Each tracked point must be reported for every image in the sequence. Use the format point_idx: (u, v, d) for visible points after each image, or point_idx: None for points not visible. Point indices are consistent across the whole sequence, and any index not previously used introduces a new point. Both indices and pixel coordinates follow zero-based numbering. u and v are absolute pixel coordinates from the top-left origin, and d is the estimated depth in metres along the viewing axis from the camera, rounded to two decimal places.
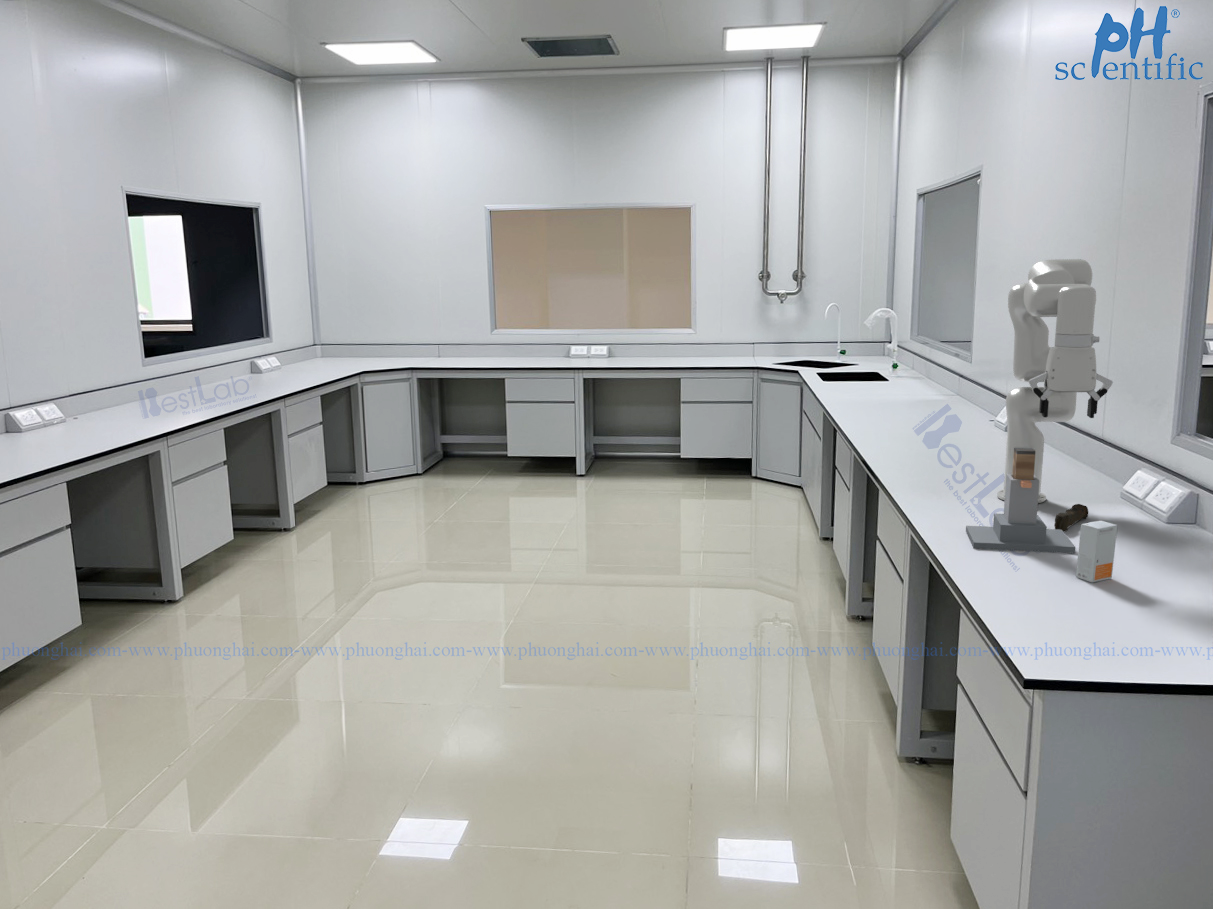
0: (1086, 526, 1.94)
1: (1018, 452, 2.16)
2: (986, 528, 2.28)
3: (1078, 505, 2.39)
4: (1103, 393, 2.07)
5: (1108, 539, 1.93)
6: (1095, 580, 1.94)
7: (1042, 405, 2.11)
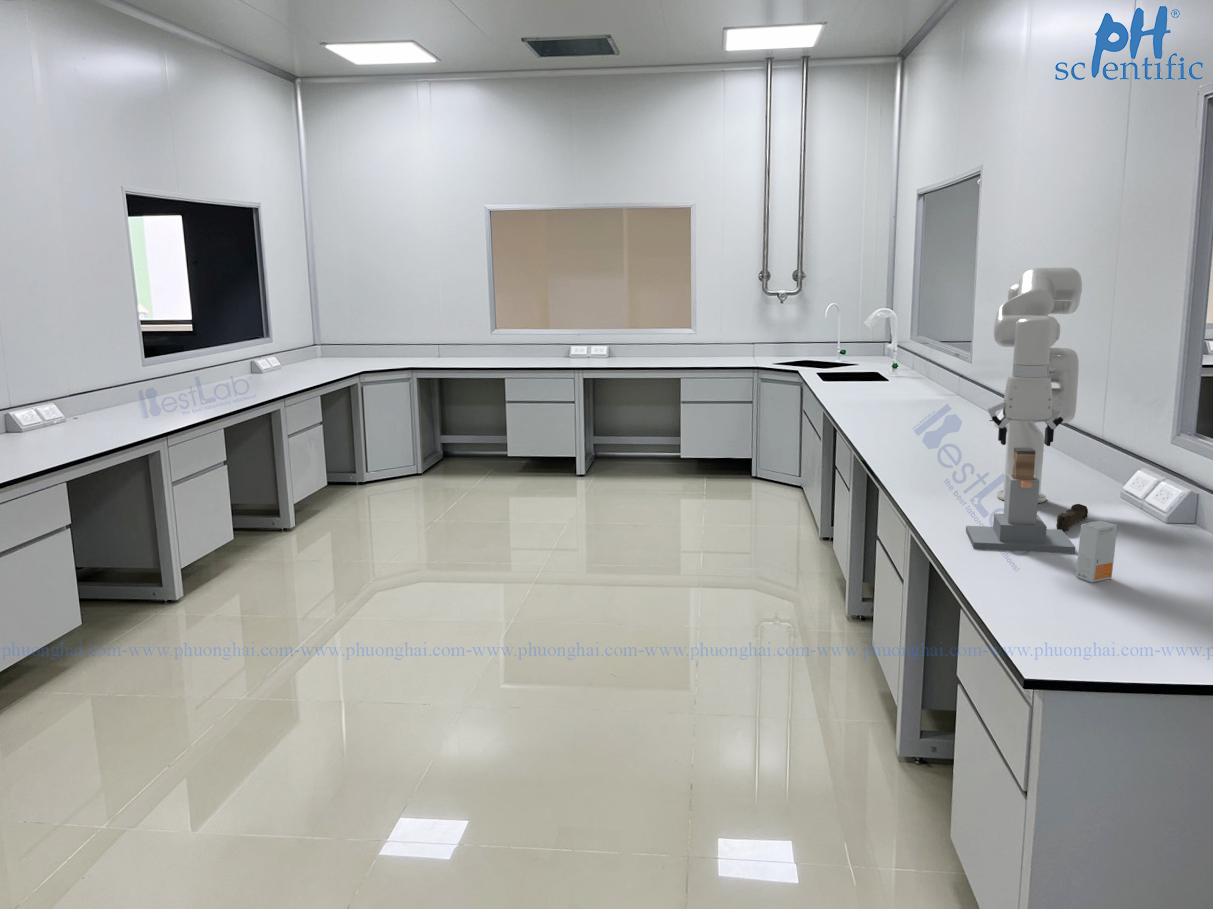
0: (1086, 526, 1.94)
1: (1018, 452, 2.16)
2: (986, 528, 2.28)
3: (1078, 505, 2.39)
4: (1059, 422, 2.13)
5: (1108, 539, 1.93)
6: (1095, 580, 1.94)
7: (1000, 433, 2.17)
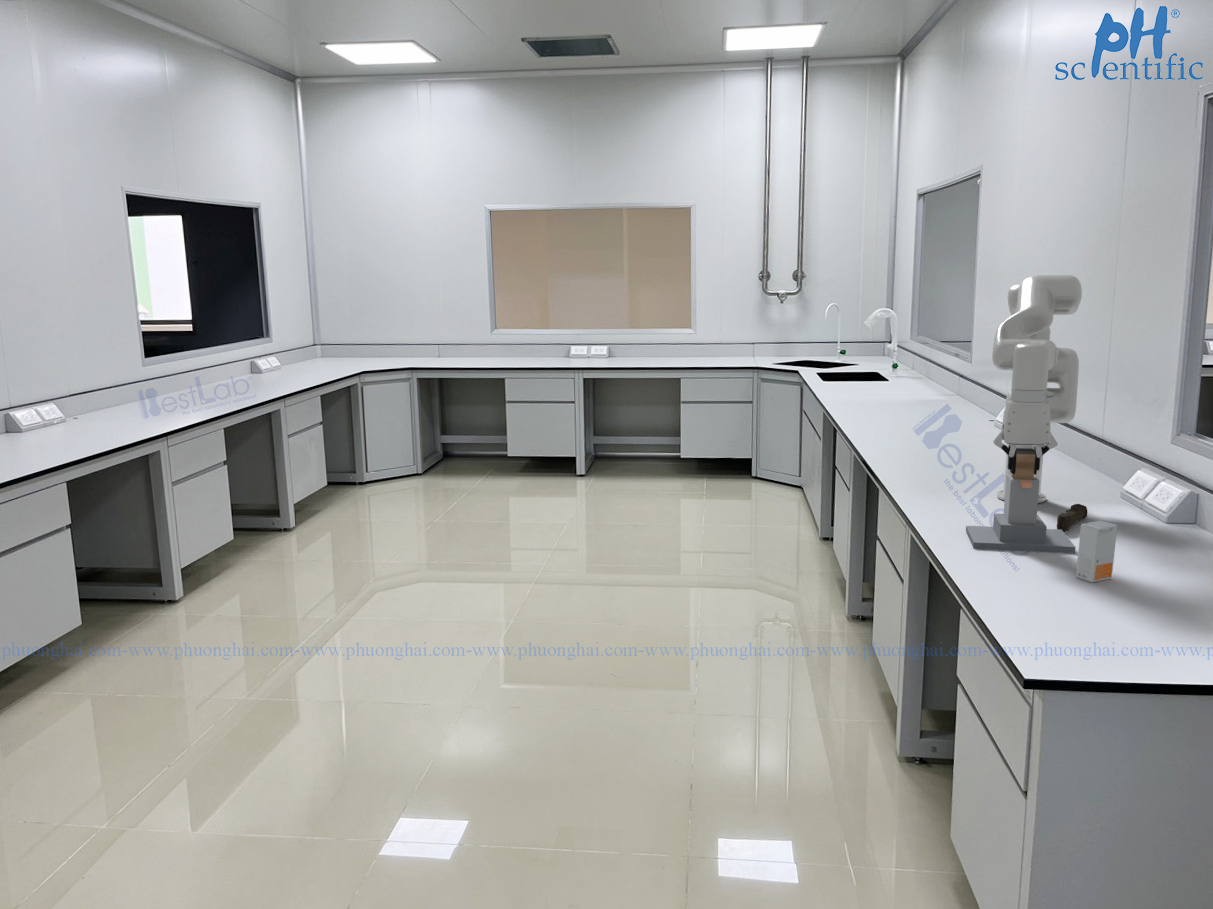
0: (1086, 526, 1.94)
1: (1018, 452, 2.16)
2: (986, 528, 2.28)
3: (1077, 505, 2.39)
4: (1045, 451, 2.15)
5: (1108, 539, 1.93)
6: (1095, 580, 1.94)
7: (1010, 462, 2.18)
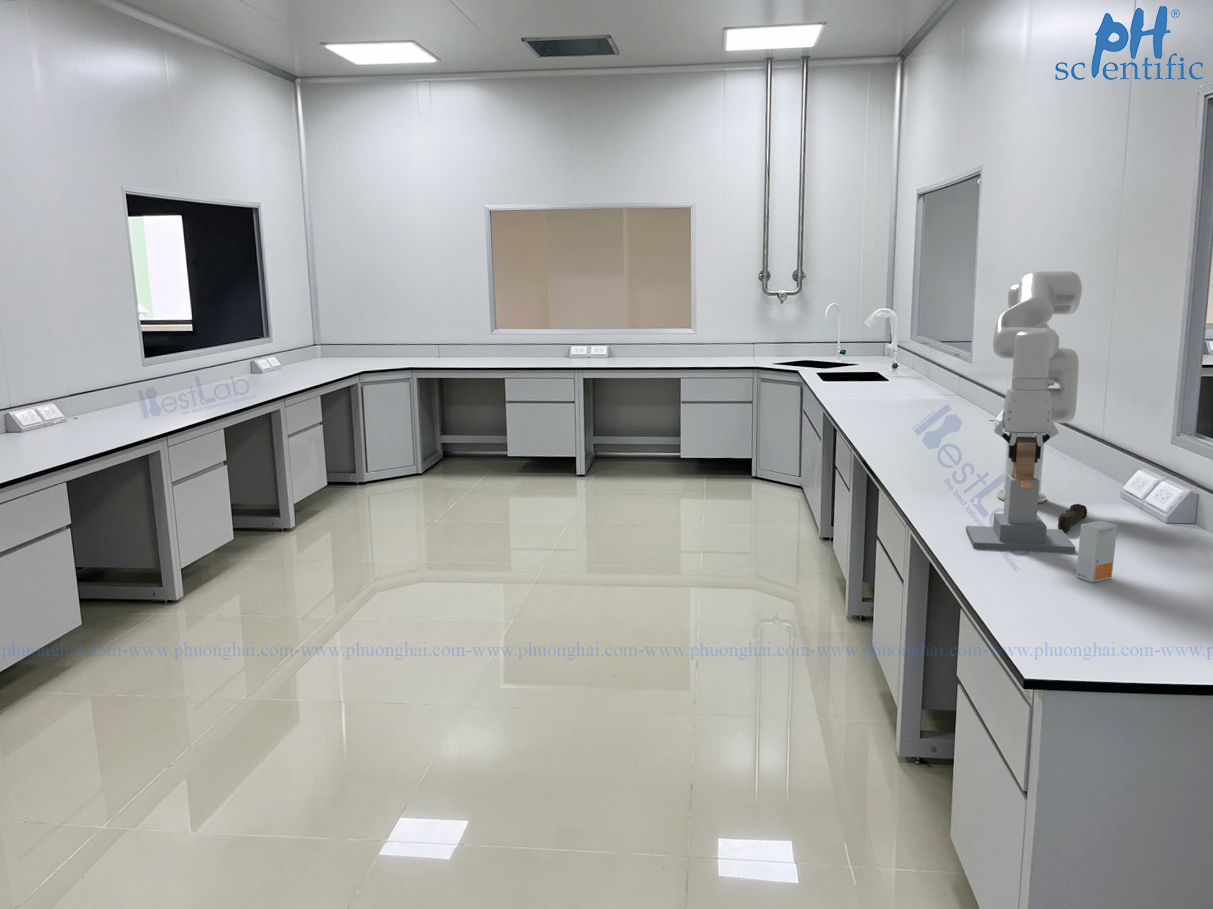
0: (1086, 526, 1.94)
1: (1019, 440, 2.15)
2: (986, 528, 2.28)
3: (1077, 505, 2.39)
4: (1046, 439, 2.15)
5: (1108, 539, 1.93)
6: (1095, 580, 1.94)
7: (1011, 450, 2.17)
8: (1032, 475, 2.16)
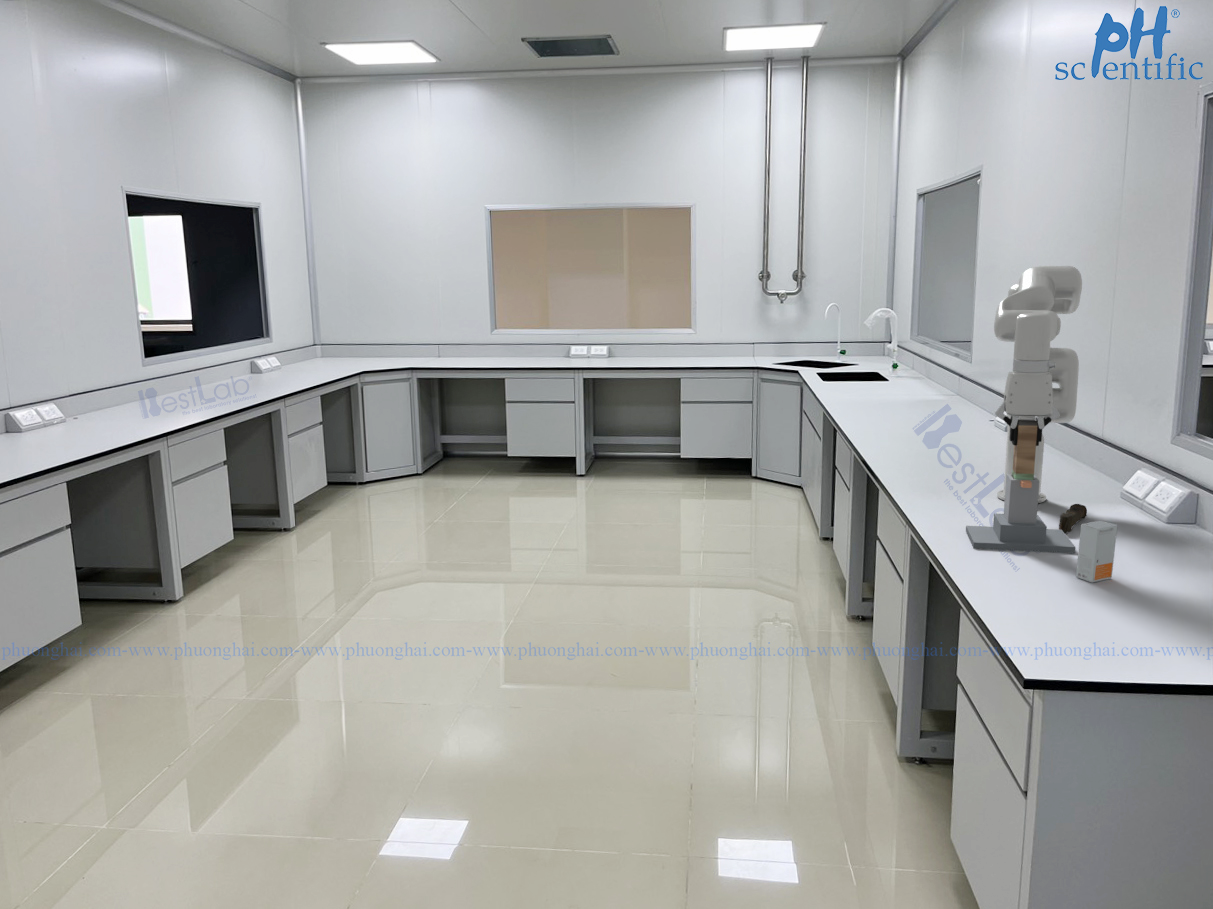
0: (1086, 526, 1.94)
1: (1020, 423, 2.14)
2: (986, 528, 2.28)
3: (1077, 505, 2.39)
4: (1047, 422, 2.14)
5: (1108, 539, 1.93)
6: (1095, 580, 1.94)
7: (1012, 433, 2.16)
8: (1033, 458, 2.15)
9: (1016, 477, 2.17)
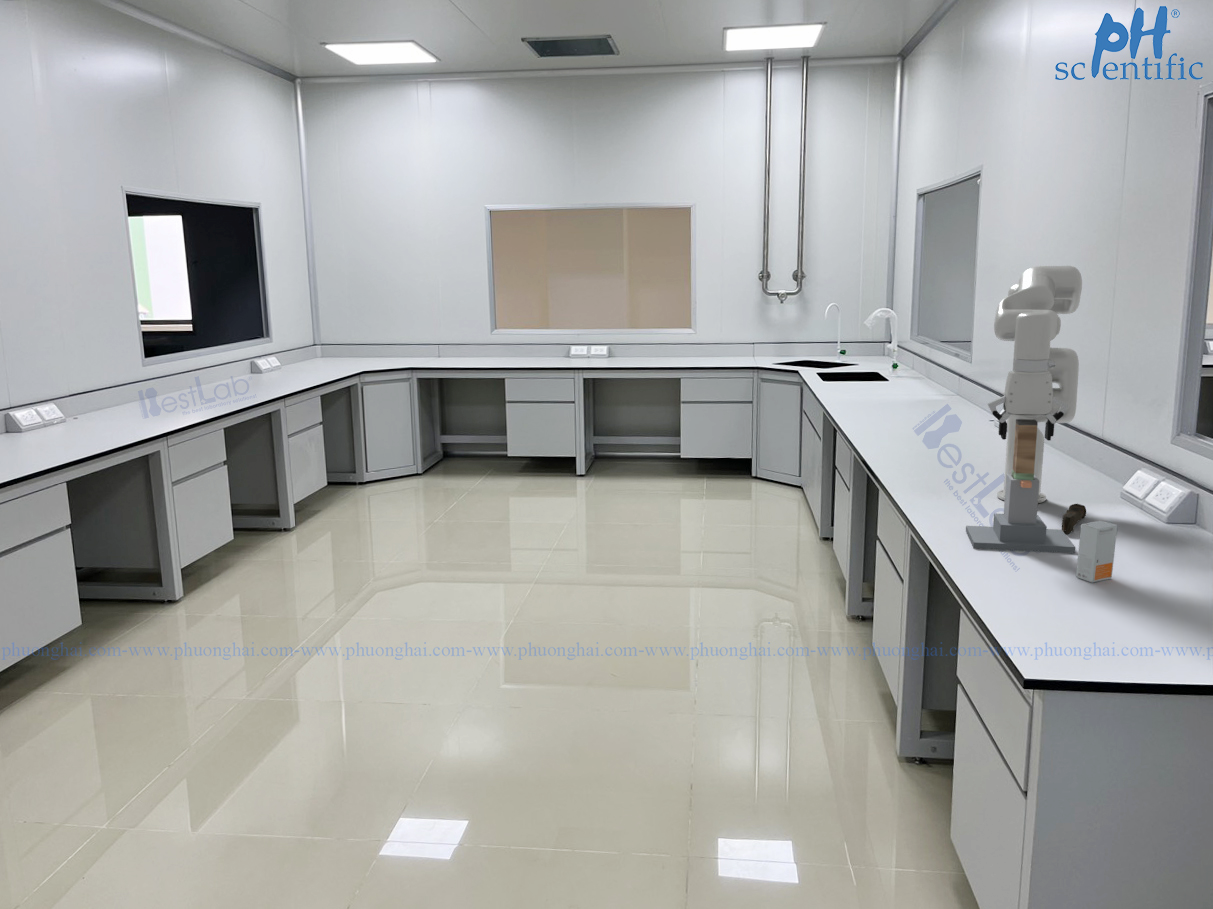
0: (1086, 526, 1.94)
1: (1020, 423, 2.14)
2: (986, 528, 2.28)
3: (1076, 505, 2.40)
4: (1059, 416, 2.13)
5: (1108, 539, 1.93)
6: (1095, 580, 1.94)
7: (1001, 427, 2.17)
8: (1033, 458, 2.15)
9: (1016, 477, 2.17)
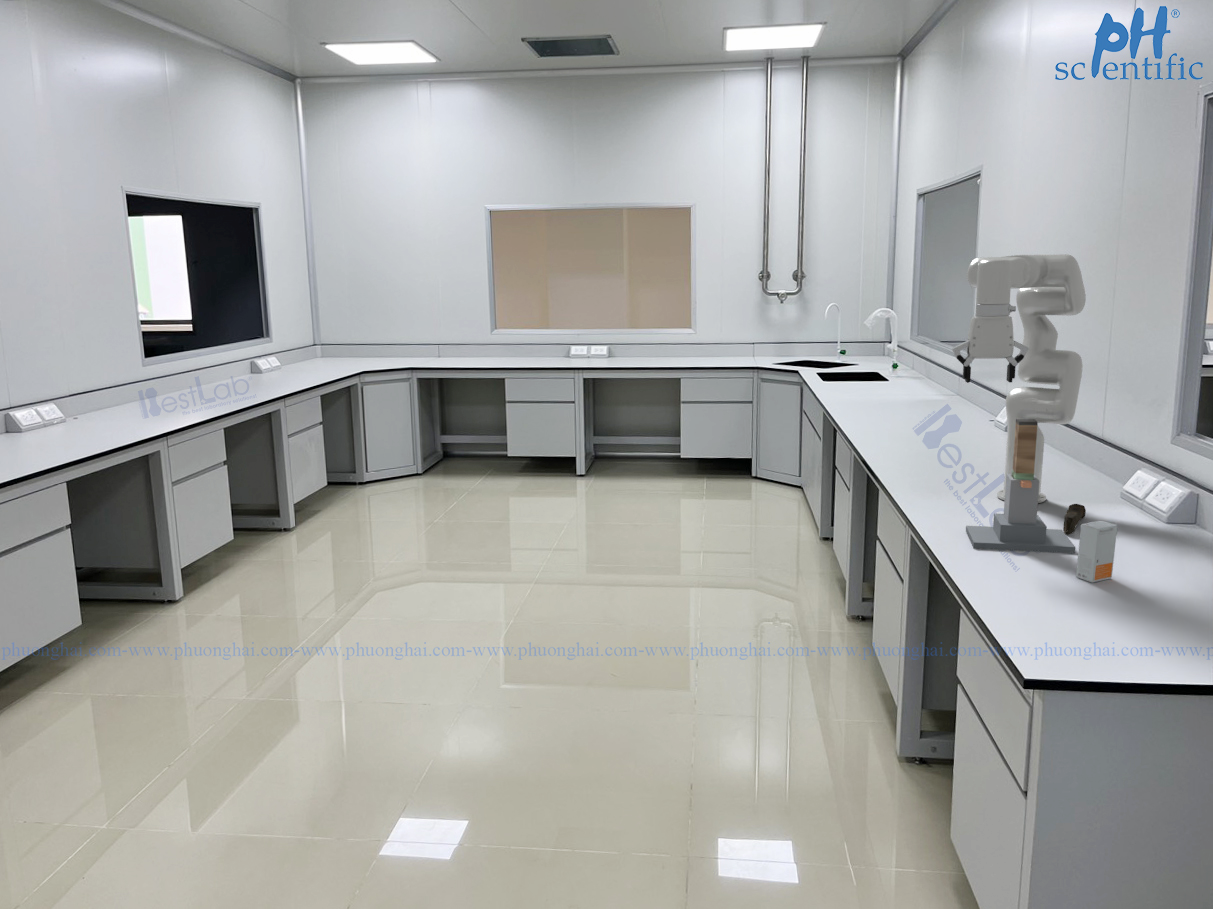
0: (1086, 526, 1.94)
1: (1020, 423, 2.14)
2: (986, 528, 2.28)
3: (1076, 505, 2.40)
4: (1020, 359, 2.22)
5: (1108, 539, 1.93)
6: (1095, 580, 1.94)
7: (965, 371, 2.26)
8: (1033, 458, 2.15)
9: (1016, 477, 2.17)
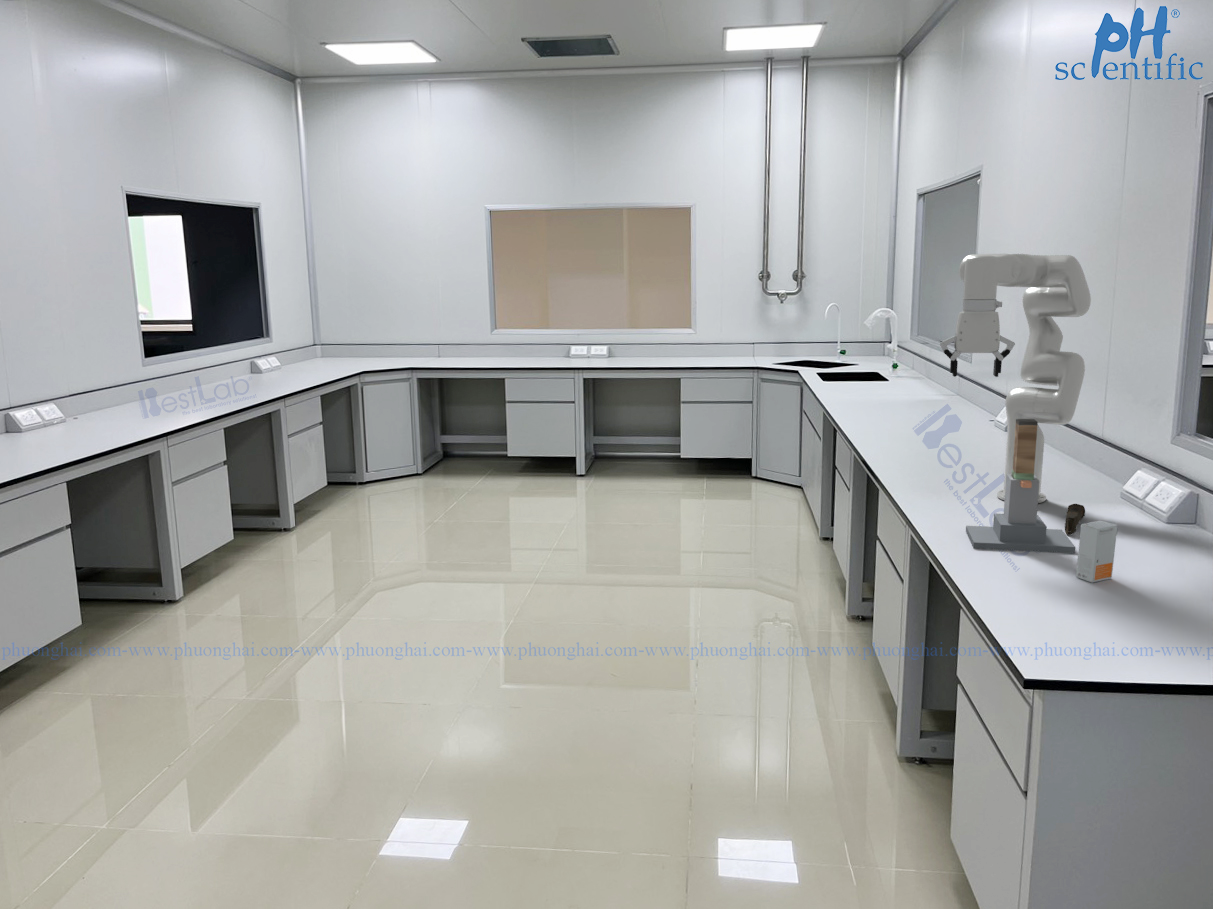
0: (1086, 526, 1.94)
1: (1020, 423, 2.14)
2: (986, 528, 2.28)
3: (1075, 505, 2.40)
4: (1006, 354, 2.26)
5: (1108, 539, 1.93)
6: (1095, 580, 1.94)
7: (952, 365, 2.30)
8: (1033, 458, 2.15)
9: (1016, 477, 2.17)
